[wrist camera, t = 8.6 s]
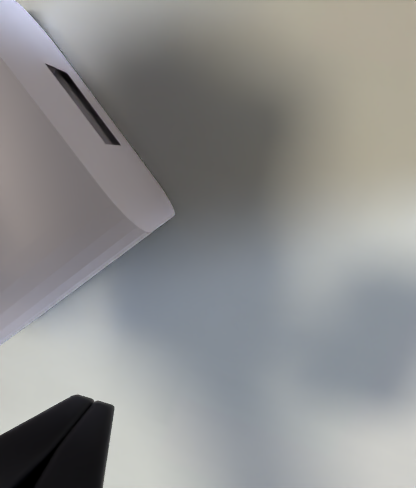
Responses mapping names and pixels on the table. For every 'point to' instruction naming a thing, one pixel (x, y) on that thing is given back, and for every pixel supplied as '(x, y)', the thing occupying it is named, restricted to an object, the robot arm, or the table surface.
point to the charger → (60, 178)
